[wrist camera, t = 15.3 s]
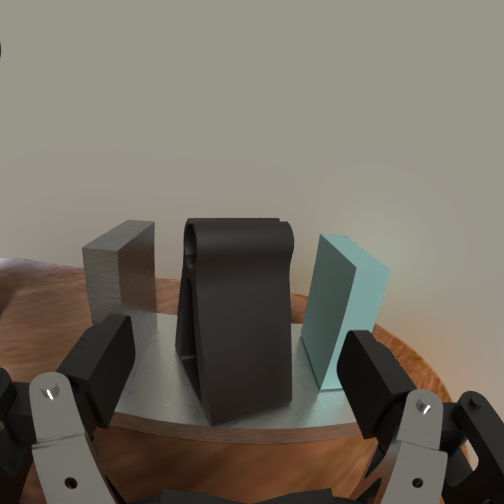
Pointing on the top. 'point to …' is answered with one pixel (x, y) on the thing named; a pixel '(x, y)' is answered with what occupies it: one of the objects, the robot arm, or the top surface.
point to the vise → (171, 370)
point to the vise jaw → (340, 302)
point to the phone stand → (236, 315)
